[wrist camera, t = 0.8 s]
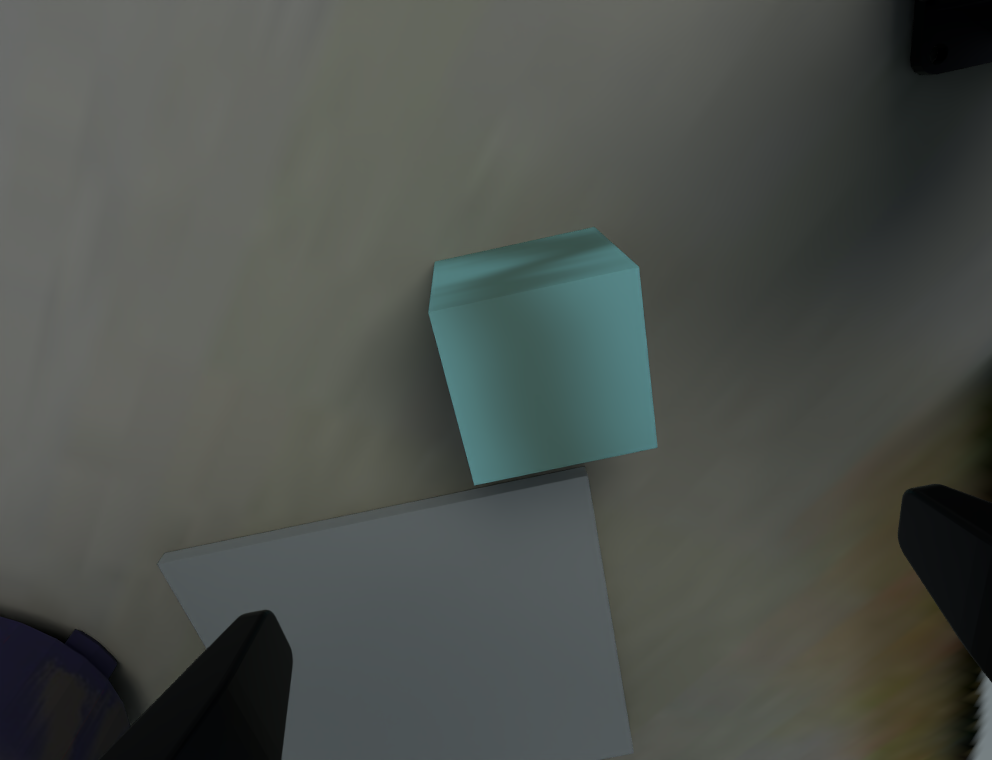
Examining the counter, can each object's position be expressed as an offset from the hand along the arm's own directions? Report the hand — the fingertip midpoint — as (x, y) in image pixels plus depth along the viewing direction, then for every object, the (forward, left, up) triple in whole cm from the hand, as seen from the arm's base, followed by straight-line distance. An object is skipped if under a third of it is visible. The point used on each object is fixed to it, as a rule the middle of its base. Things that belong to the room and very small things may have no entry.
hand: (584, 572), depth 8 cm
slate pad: (+7, +15, -12) cm, 20 cm away
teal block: (0, +1, -12) cm, 12 cm away
